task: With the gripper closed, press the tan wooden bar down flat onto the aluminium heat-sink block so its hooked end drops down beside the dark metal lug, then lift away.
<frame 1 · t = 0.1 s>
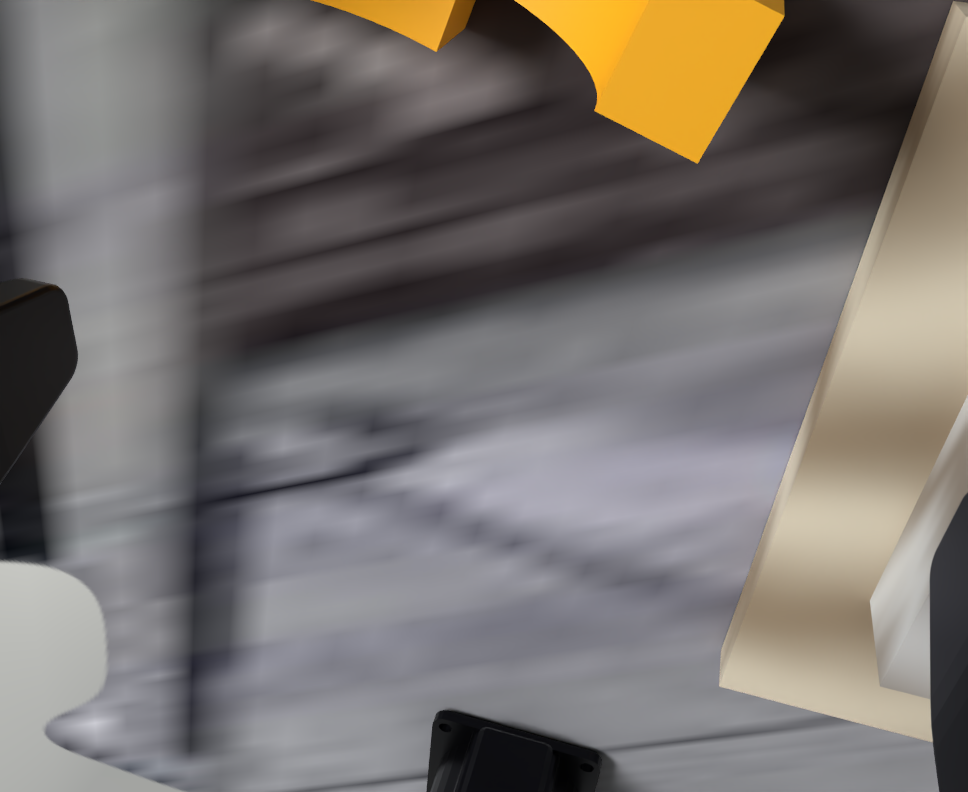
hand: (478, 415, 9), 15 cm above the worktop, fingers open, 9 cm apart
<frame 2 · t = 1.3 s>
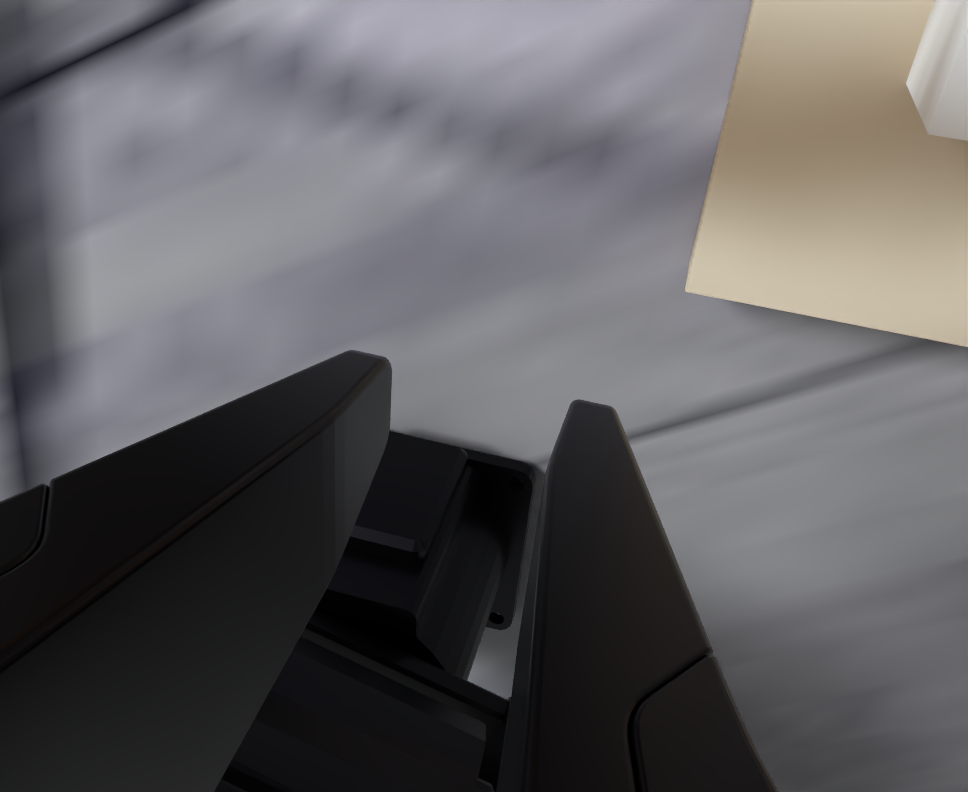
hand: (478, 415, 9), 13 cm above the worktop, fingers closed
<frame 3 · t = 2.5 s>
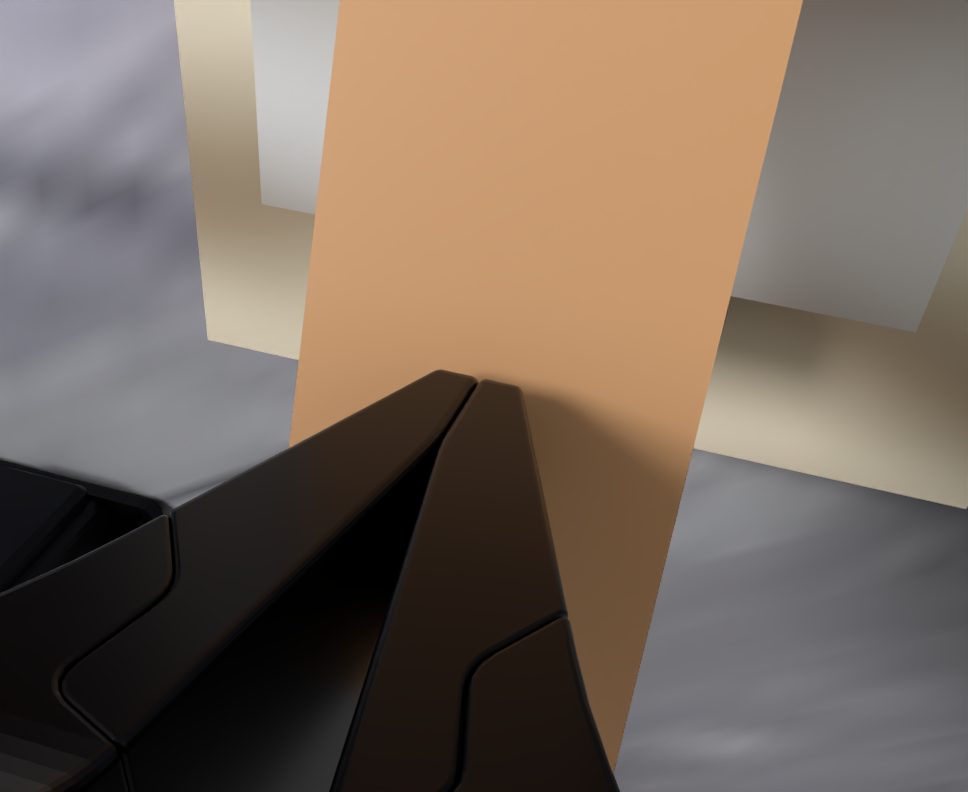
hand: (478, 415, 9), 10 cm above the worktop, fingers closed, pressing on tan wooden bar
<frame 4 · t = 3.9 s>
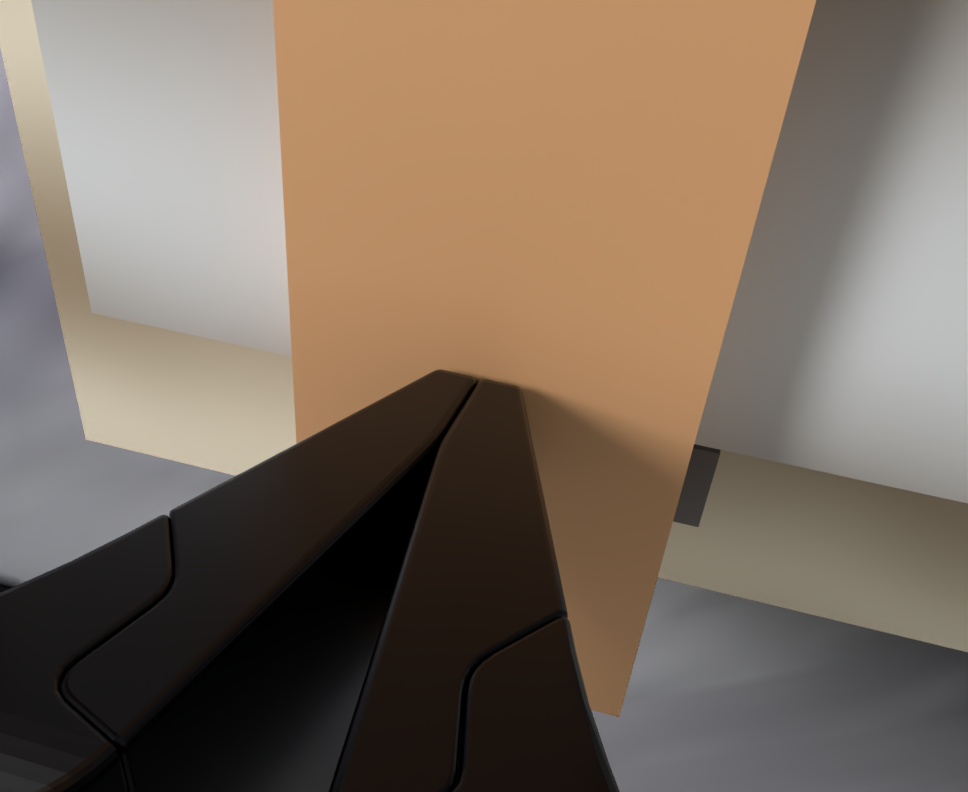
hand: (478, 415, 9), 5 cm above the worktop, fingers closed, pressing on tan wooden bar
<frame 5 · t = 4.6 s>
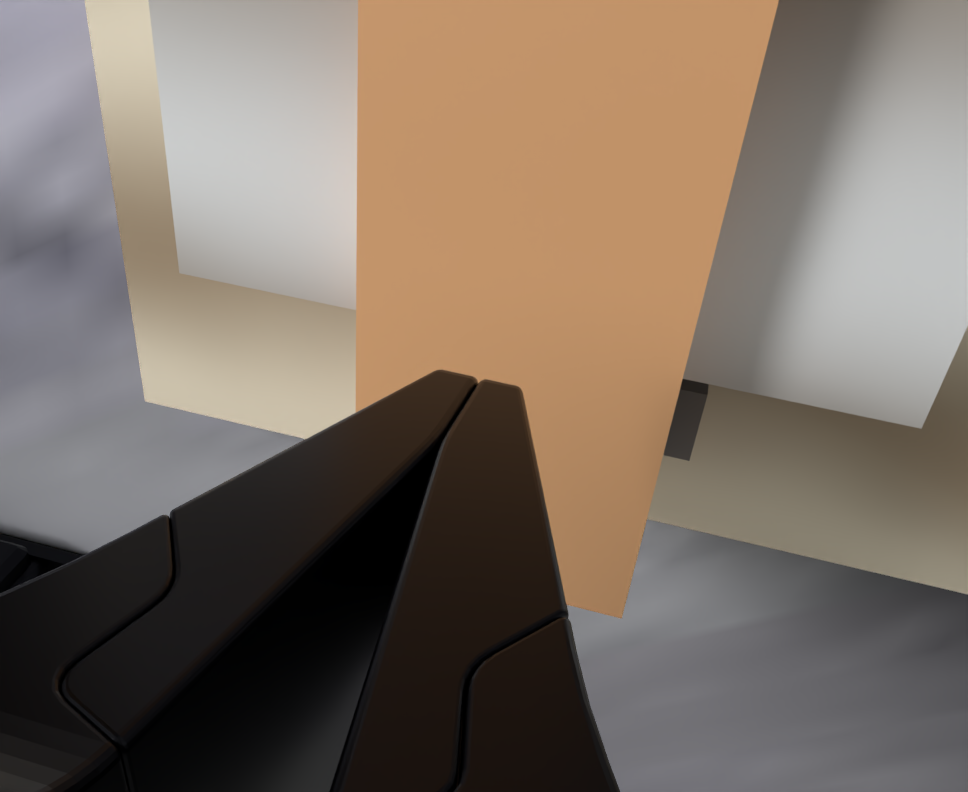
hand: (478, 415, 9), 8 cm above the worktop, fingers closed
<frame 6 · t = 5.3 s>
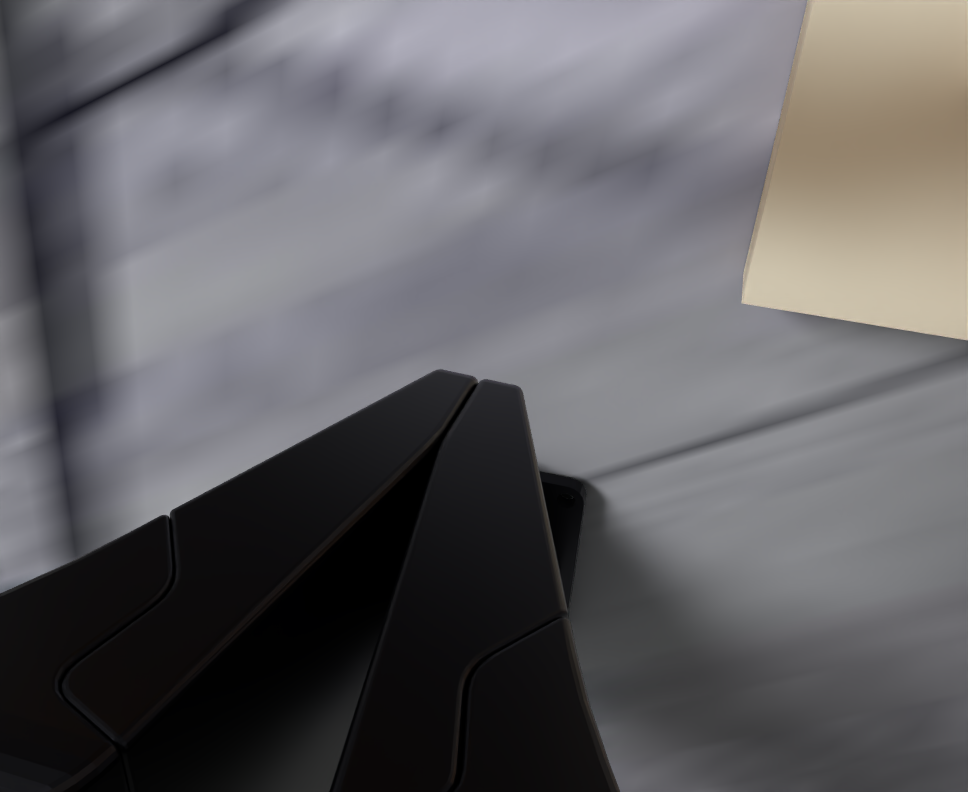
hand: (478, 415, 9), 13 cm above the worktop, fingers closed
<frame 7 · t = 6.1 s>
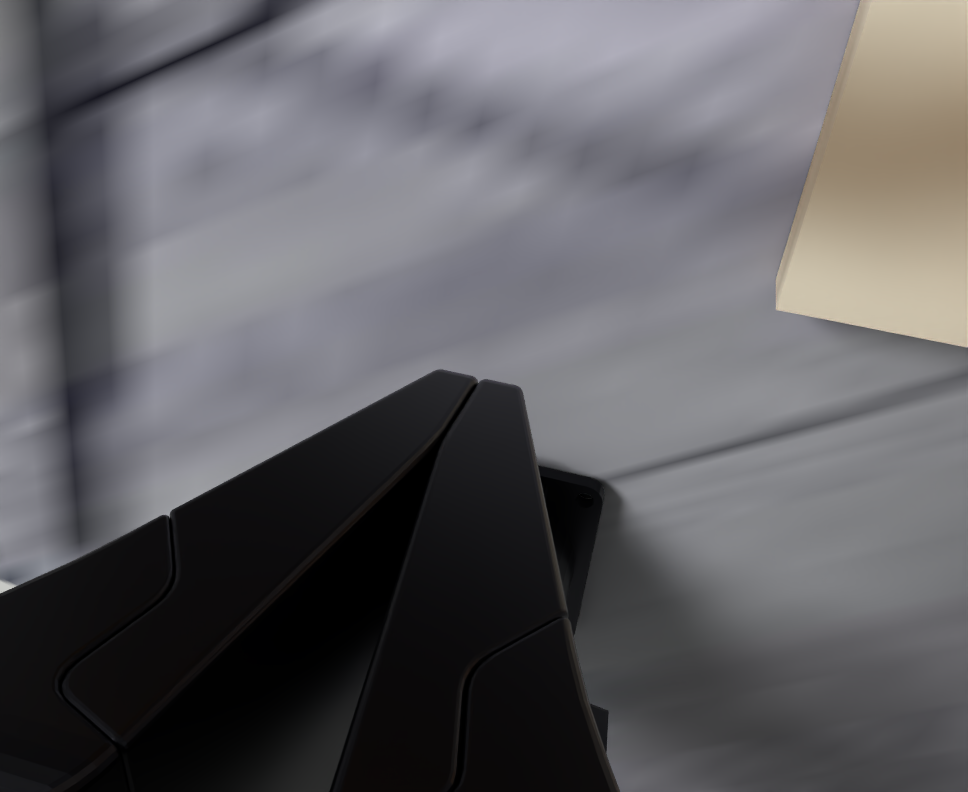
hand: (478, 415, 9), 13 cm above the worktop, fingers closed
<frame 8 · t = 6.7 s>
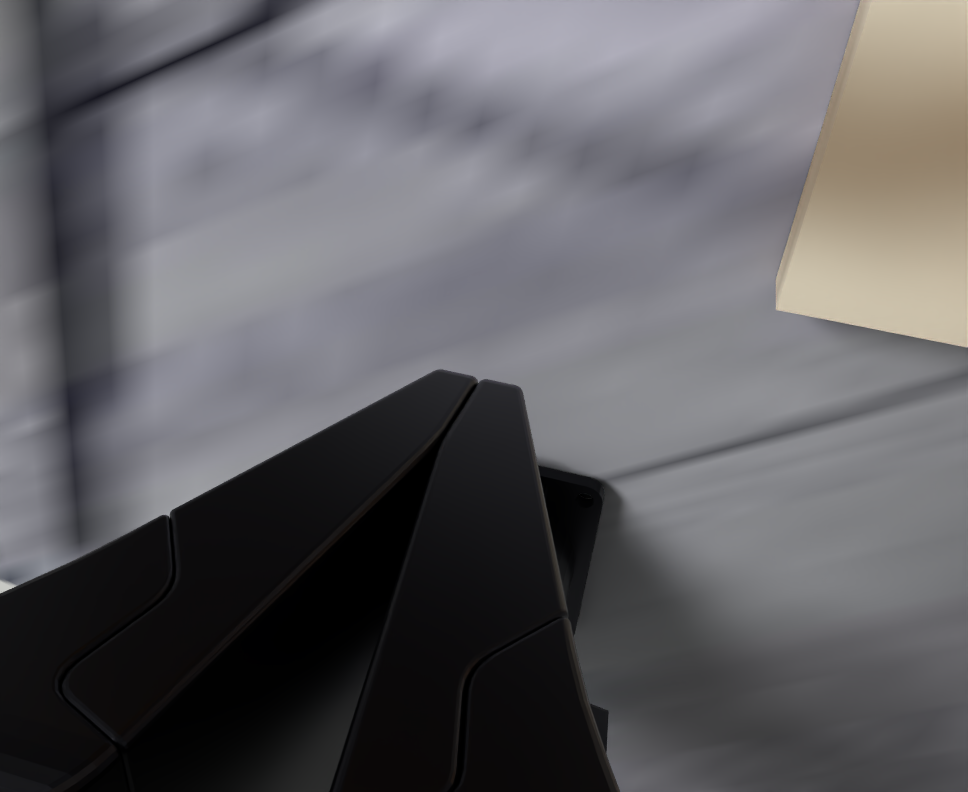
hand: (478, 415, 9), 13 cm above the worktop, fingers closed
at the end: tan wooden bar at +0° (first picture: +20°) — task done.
